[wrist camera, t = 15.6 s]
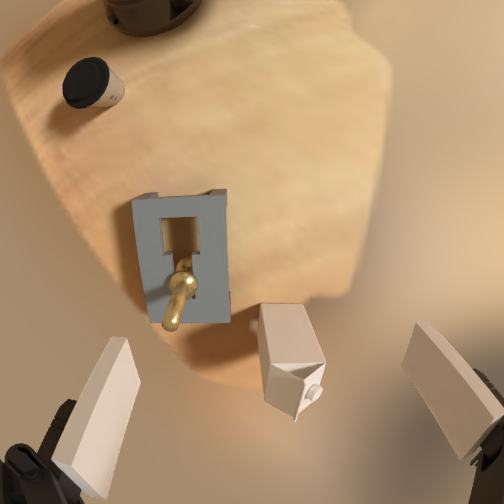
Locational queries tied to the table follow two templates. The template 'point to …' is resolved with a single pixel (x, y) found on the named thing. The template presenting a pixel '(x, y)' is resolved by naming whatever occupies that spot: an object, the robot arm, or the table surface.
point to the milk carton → (289, 357)
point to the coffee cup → (92, 85)
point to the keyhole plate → (204, 262)
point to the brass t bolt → (179, 293)
